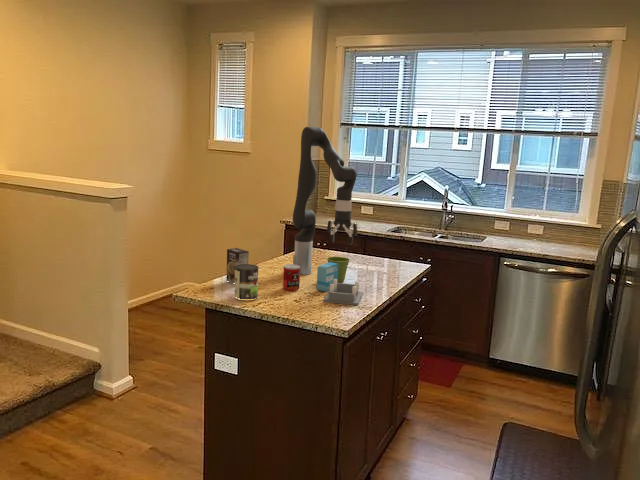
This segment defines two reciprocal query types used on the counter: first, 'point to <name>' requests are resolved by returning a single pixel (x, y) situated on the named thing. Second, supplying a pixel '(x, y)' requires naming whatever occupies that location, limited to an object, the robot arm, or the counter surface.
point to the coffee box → (235, 261)
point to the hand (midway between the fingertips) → (341, 243)
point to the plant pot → (340, 266)
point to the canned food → (291, 277)
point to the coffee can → (246, 281)
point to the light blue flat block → (326, 276)
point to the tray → (344, 293)
